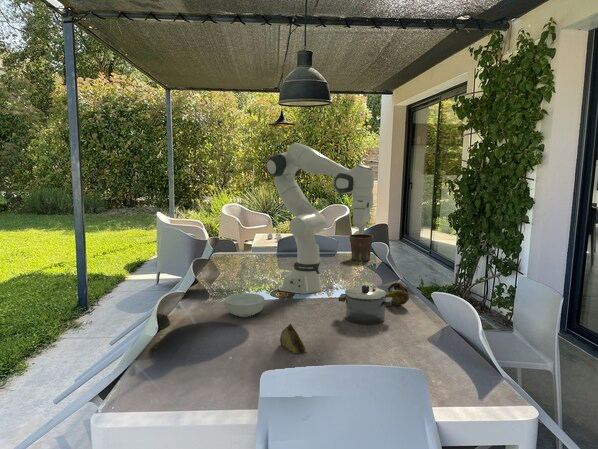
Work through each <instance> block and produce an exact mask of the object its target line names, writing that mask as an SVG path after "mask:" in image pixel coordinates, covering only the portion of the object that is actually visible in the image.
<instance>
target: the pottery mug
mask: <svg viewBox="0 0 598 449" xmlns="http://www.w3.org/2000/svg"><path fill="white" fill-rule="evenodd" d="M392 288H393V289H394V290H391V289H392ZM395 290H404V291H406V292H407V293H408V296H409V297H410V295H409V291H408V289H407V287H406V286H405V285H404V284H402V283H401V282H393V283H391V284H390V285H389V286H388V287H387V293H389V292H393V291H395Z"/></svg>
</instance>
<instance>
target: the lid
mask: <svg viewBox="0 0 598 449" xmlns="http://www.w3.org/2000/svg"><path fill="white" fill-rule="evenodd" d="M344 292H345V293H344V294H346V295H347V296H349V297H352V298H356V299H366V300H372V299H380V298H384V297H385V296H386V294H387V292H386V291H385V289H381V288H376V287H373V286H371V287H370V285H367V284H366V285H365V284H362V285H361V286H355V287H349V288H346V290H344Z"/></svg>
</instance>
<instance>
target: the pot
mask: <svg viewBox="0 0 598 449" xmlns="http://www.w3.org/2000/svg"><path fill="white" fill-rule="evenodd" d="M338 302H343V303H344V302H345V320H346V321H348V322H349V323H352V324H356V325H361V326H371V325H372V326H373V325H379V324H382V323H383V322H385V319H386V316H385V315H386V306H389V307H391V305H392V298H390V297H386V299H385V297H384V298H380V299H372V300H366V299H356V298H352V297H349V296H347V295H346V294H345V293H341V294H340V295H339V296H338Z"/></svg>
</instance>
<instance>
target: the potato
mask: <svg viewBox="0 0 598 449" xmlns="http://www.w3.org/2000/svg"><path fill="white" fill-rule="evenodd" d="M392 291H393V292H389V293H388V292H386V296H385V299H386V297H390V298H392V303H391V305H395V306H401V305H405V304H406V303H407V302H408V301H409V300H410V299H409V298H410V295H409V296H408V294H409V292H408V293H407V292H406V291H404V290H395V289H394V290H392Z"/></svg>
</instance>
